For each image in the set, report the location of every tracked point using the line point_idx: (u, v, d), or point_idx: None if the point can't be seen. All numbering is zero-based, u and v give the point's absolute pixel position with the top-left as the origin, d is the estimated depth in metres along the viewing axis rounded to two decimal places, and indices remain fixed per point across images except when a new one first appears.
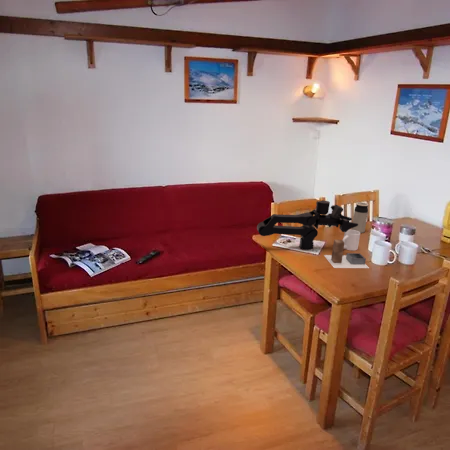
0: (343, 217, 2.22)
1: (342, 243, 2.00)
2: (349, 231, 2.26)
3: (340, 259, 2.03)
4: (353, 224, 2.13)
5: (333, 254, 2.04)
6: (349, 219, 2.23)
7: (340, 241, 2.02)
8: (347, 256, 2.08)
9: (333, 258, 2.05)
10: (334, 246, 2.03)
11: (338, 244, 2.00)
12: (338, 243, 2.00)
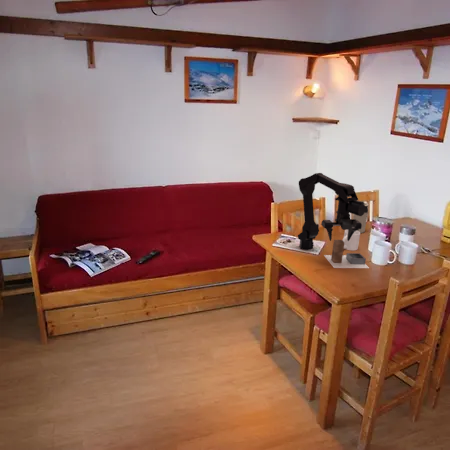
0: (350, 232, 2.00)
1: (342, 243, 2.00)
2: None
3: (340, 259, 2.03)
4: (329, 235, 2.00)
5: (333, 254, 2.04)
6: (348, 238, 2.02)
7: (340, 241, 2.02)
8: (347, 256, 2.08)
9: (333, 258, 2.05)
10: (334, 246, 2.03)
11: (338, 244, 2.00)
12: (338, 243, 2.00)
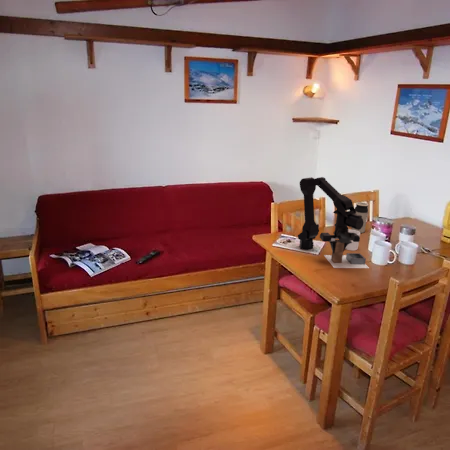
0: None
1: (342, 243, 2.00)
2: (349, 231, 2.26)
3: (340, 259, 2.03)
4: (332, 247, 2.03)
5: (333, 254, 2.04)
6: None
7: None
8: (347, 256, 2.08)
9: (333, 258, 2.05)
10: None
11: (338, 244, 2.00)
12: (338, 243, 2.00)
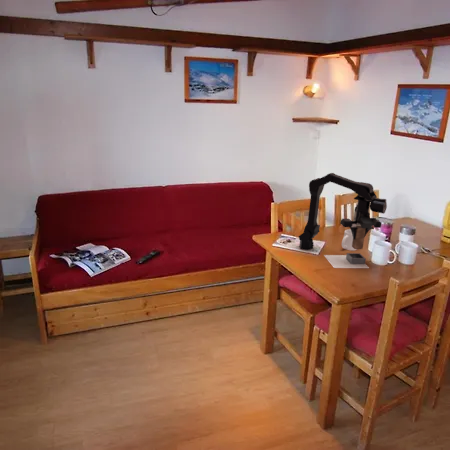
0: None
1: (363, 229, 1.99)
2: (349, 231, 2.26)
3: (361, 245, 2.01)
4: (353, 234, 2.01)
5: (354, 240, 2.02)
6: None
7: (361, 227, 2.00)
8: (347, 256, 2.08)
9: (353, 244, 2.03)
10: None
11: (359, 230, 1.99)
12: (359, 229, 1.99)
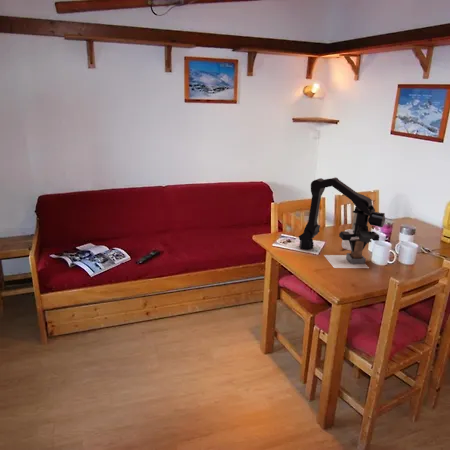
0: None
1: (362, 242, 2.01)
2: (349, 231, 2.26)
3: None
4: (351, 246, 2.03)
5: (353, 253, 2.04)
6: None
7: None
8: (347, 256, 2.08)
9: (352, 257, 2.05)
10: (354, 245, 2.03)
11: (358, 243, 2.01)
12: (358, 242, 2.01)
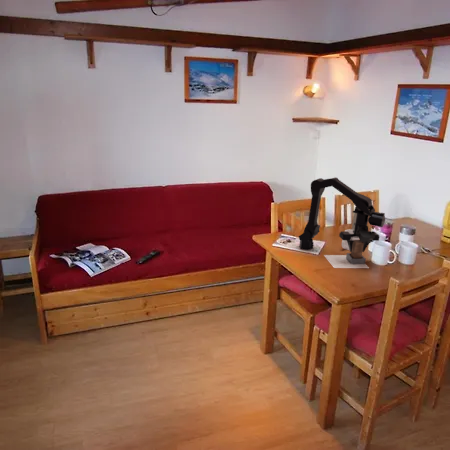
0: (365, 243, 2.03)
1: (361, 243, 2.01)
2: (349, 231, 2.26)
3: None
4: (349, 246, 2.03)
5: (352, 254, 2.04)
6: None
7: (359, 241, 2.03)
8: (347, 256, 2.08)
9: None
10: (353, 246, 2.04)
11: (357, 244, 2.01)
12: (357, 243, 2.01)
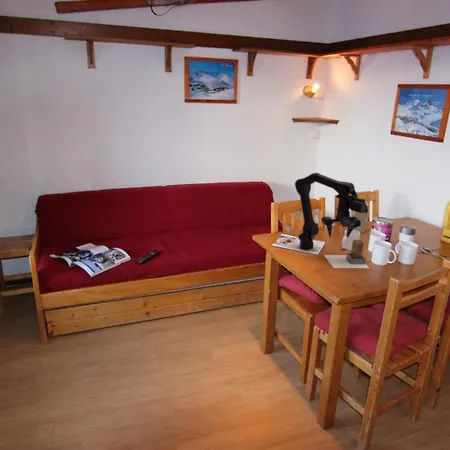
0: (349, 229, 2.04)
1: (361, 243, 2.01)
2: None
3: None
4: (328, 231, 2.04)
5: (352, 254, 2.04)
6: (347, 234, 2.06)
7: (359, 241, 2.03)
8: (347, 256, 2.08)
9: None
10: (353, 246, 2.04)
11: (357, 244, 2.01)
12: (357, 243, 2.01)
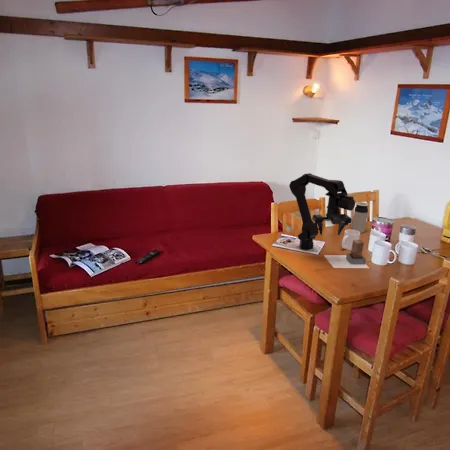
0: (340, 226, 2.05)
1: (361, 243, 2.01)
2: (349, 231, 2.26)
3: None
4: (319, 229, 2.05)
5: (352, 254, 2.04)
6: (338, 232, 2.07)
7: (359, 241, 2.03)
8: (347, 256, 2.08)
9: None
10: (353, 246, 2.04)
11: (357, 244, 2.01)
12: (357, 243, 2.01)
